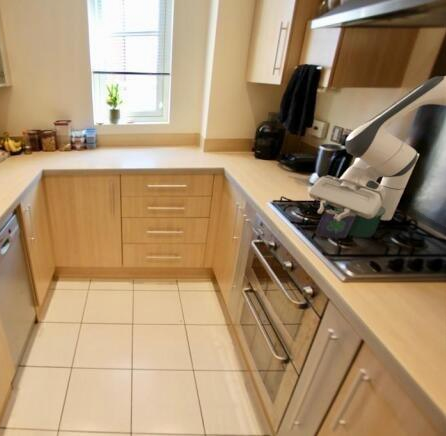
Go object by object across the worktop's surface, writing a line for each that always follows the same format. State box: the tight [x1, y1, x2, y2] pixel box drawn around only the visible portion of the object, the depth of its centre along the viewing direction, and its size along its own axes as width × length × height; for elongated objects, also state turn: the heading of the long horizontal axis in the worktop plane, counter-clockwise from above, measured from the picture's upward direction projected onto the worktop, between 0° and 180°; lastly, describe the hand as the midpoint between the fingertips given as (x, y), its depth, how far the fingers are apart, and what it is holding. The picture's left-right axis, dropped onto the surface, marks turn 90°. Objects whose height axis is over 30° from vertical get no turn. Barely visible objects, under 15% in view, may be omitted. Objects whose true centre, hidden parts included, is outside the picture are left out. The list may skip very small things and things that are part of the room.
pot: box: [332, 206, 382, 238], centre depth 113 cm, size 14×19×8 cm
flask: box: [315, 208, 356, 239], centre depth 104 cm, size 9×3×11 cm, turn 75°
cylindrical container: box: [379, 152, 420, 221], centre depth 116 cm, size 7×7×25 cm
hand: (327, 216), depth 103 cm, fingers closed on flask, 4 cm apart
